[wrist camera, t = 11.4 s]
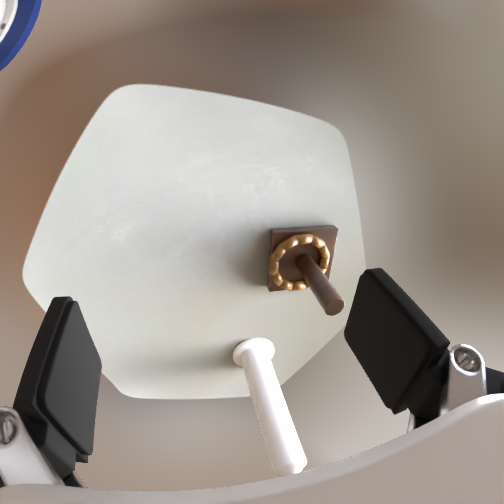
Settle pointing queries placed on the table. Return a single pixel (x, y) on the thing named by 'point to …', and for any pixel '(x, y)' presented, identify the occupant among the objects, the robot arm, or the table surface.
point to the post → (307, 264)
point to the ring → (286, 246)
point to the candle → (270, 406)
